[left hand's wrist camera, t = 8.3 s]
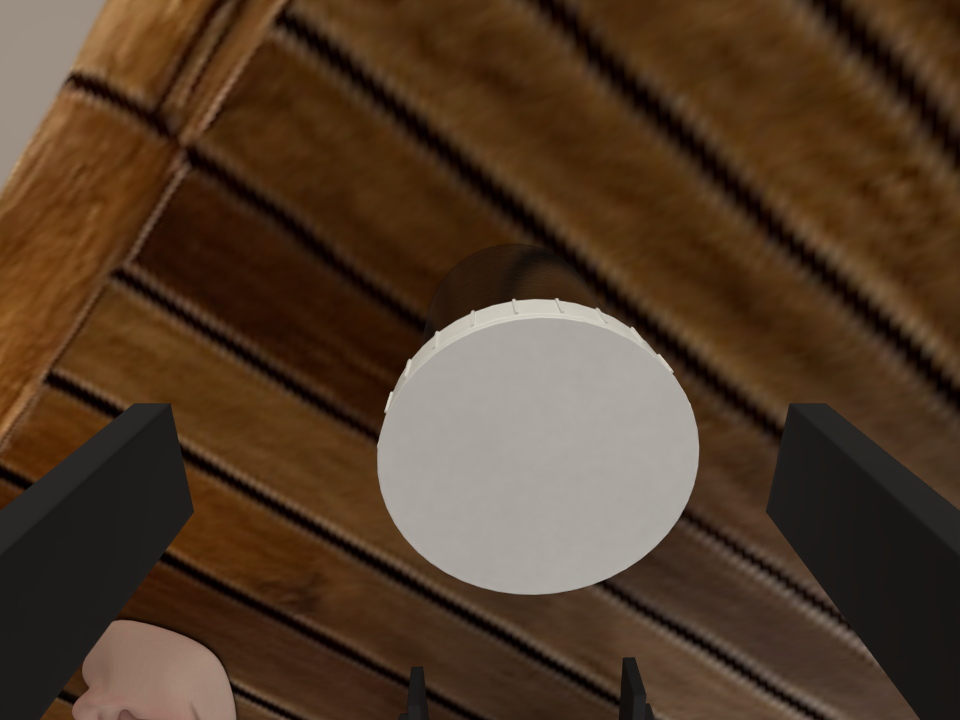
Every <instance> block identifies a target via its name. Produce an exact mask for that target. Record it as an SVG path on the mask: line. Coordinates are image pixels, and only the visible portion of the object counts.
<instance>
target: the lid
mask: <svg viewBox="0 0 960 720" xmlns="http://www.w3.org/2000/svg"><path fill="white" fill-rule="evenodd" d="M672 373H673V370H672V369H671V368H670V366H669V365H668V364H667V363H666V362H665V360H664V359H663V358H662V357H661V355H660V354H658V355H657V354H656V353H655V352H654V351H653V350H652V348H651V347H650V346H649V345H648V344H647V343H646V341H644V340H643V339H642V338H641V337H640V335H639V334H638V333H637V332H636V330H635V329H634V328H633V327H631V329H630V328H629V327H627V326H626V325H624V324H623V323H621V322H620V321H618V320H617V319H615V318H613V317H611V316H609V315H607V314H604V313H602V312H601V311H600V309H599V308H596V309H592V308H589V307H586V306H583V305H579V304H576V303H570V302H564V301H559V299H558V298H555V300H542V299H532V300H520V301H516V300H515V299H512V302H507V303H502V304H497V305H493V306H490V307H487V308H484V309H481V310H479V311H476V312H474V310H473V311H471V314H469V315H467V316H465V317H463V318H461V319H459V320H457V321H455V322H453V323H452V324H450V325H449V326H447V327H446V328H444V329H443V330H441V331H440V332H438V331H437V332H435V336H434V337H433V338H432V339H430V340H429V341H428V342H427V343H426V344H425V345H424V346H423V347H422V348H421V349H420V350H419V351H418V352H417V354H416V355H415V356H414V357H413V358H412V359H411V360H410V359H409V360H408V362H407V365H406V368H405V370H404V371H403V373H402V375H401V376H400V378H399V380H398V383H397V385H396V387H395V389H394V391H393V392H391V393H390V396H389V399H388V402H387V405H386V408H385V413H386V416H385V420H384V423H383V427H382V430H381V434H380V438H379V442H378V445H377V449H378V453H377V463H378V477H379V483H380V489H381V493H382V496H383V499H384V502H385V505H386V507H387V509H388V511H389V513H390V515H391V517H392V519H393V521H394V523H395V525H396V526H397V528H398V529H399V531H400V532H401V533H402V535H403V536H404V538H405V539H406V540H407V541H408V542H409V543H410V544H411V545H412V546H413V548H414V549H415V550H416V551H417V552H418V553H420V554H421V555H422V556H423V557H424V558H425V559H427V560H428V561H429V562H430V563H432V564H433V565H435V566H436V567H438V568H439V569H441V570H442V571H444V572H446V573H447V574H449V575H451V576H454V577H456V578H458V579H460V580H462V581H464V582H467V583H470V584H472V585H475V586H478V587H481V588H485V589H489V590H494V591H498V592H505V593H512V594H532V595H537V594H551V593H559V592H564V591H570V590H575V589H578V588H582V587H585V586H589V585H592V584H595V583H597V582H600V581H602V580H605V579H607V578H610V577H612V576H613V575H615V574H617V573H619V572H621V571H623V570H625V569H627V568H628V567H630V566H631V565H633V564H634V563H635V562H637V561H638V560H640V559H641V558H643V557H644V556H645V555H646V554H647V553H648V552H650V551H651V550H652V549H653V548H654V547H656V545H657V544H658V543H659V542H660V541H661V540H662V539H663V538H664V537H665V536H666V535H667V534H668V532H669V531H670V530H671V528H672V527H673V526H674V524H675V523H676V521H677V520H678V519H679V517H680V515H681V513H682V511H683V509H684V508H685V506H686V504H687V502H688V500H689V497H690V494H691V491H692V489H693V486H694V482H695V478H696V473H697V469H698V457H699V441H698V430H697V426H696V422H695V418H694V414H693V411H692V408H691V404H690V403H689V401H688V399H687V397H686V394H685V393H684V391H683V389H682V388H681V386H680V385H679V383H678V381H677V380H676V378H675V377H674V376H673V374H672Z"/></svg>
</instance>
